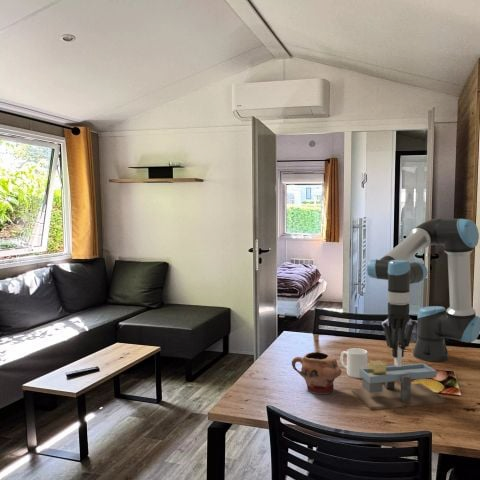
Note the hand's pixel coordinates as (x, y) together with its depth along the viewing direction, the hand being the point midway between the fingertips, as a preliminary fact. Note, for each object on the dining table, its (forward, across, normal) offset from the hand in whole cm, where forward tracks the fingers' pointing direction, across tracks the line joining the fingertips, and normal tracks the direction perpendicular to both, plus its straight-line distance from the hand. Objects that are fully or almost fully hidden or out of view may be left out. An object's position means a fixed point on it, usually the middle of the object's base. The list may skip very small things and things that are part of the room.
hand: (397, 365), depth 176 cm
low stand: (+12, 0, 0) cm, 12 cm away
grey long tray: (+8, 0, 0) cm, 8 cm away
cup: (+12, +6, -26) cm, 29 cm away
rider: (+3, +8, 0) cm, 9 cm away
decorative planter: (+12, +27, -13) cm, 32 cm away
